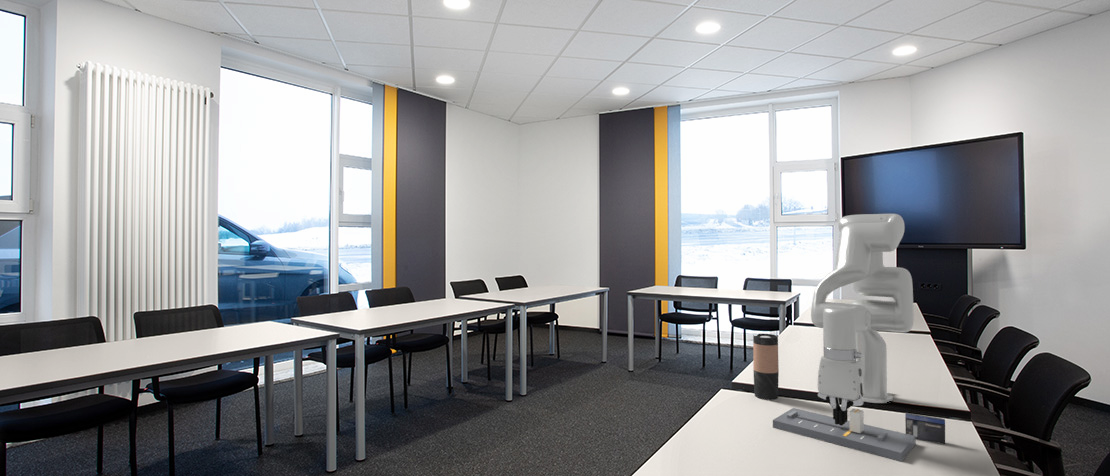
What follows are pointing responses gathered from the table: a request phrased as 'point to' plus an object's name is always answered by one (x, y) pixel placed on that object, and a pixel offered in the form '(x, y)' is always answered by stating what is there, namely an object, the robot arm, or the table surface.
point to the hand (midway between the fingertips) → (840, 423)
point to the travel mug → (765, 366)
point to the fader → (856, 420)
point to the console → (846, 434)
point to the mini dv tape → (925, 427)
